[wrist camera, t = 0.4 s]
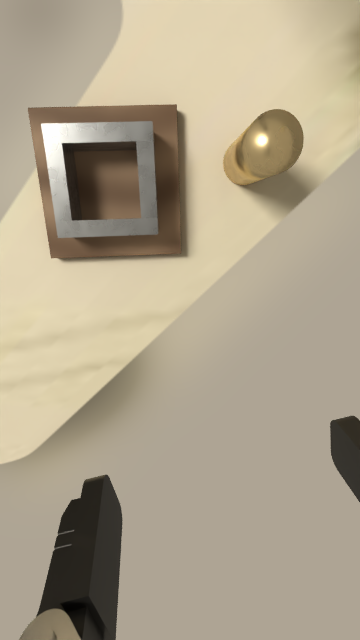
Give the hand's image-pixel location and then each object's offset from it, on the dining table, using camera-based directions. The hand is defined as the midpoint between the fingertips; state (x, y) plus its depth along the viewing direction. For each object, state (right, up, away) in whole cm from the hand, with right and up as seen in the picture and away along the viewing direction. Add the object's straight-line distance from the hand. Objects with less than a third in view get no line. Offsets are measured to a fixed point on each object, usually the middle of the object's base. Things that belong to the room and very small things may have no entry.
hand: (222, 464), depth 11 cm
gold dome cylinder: (+5, +22, +23) cm, 32 cm away
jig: (-9, +19, +23) cm, 31 cm away
